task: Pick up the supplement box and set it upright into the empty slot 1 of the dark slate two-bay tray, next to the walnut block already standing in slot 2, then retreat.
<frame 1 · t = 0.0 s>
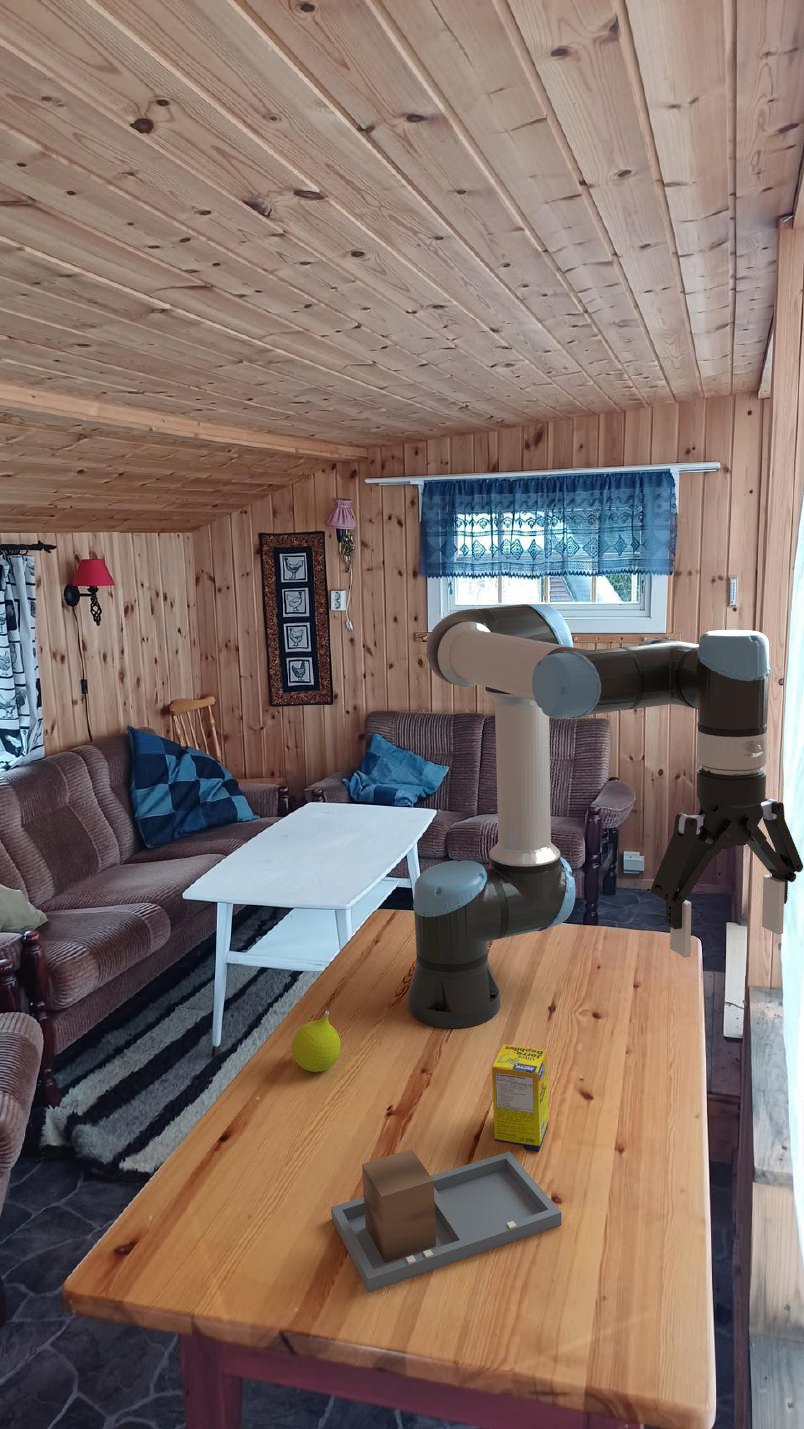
hand: (727, 941, 116), 28 cm above the table, fingers open, 13 cm apart
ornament: (317, 1069, 144), on the table
supplement box: (521, 1135, 127), on the table
slot tray: (445, 1225, 111), on the table
walnut block: (400, 1236, 109), point 1 cm above the table, touching slot tray
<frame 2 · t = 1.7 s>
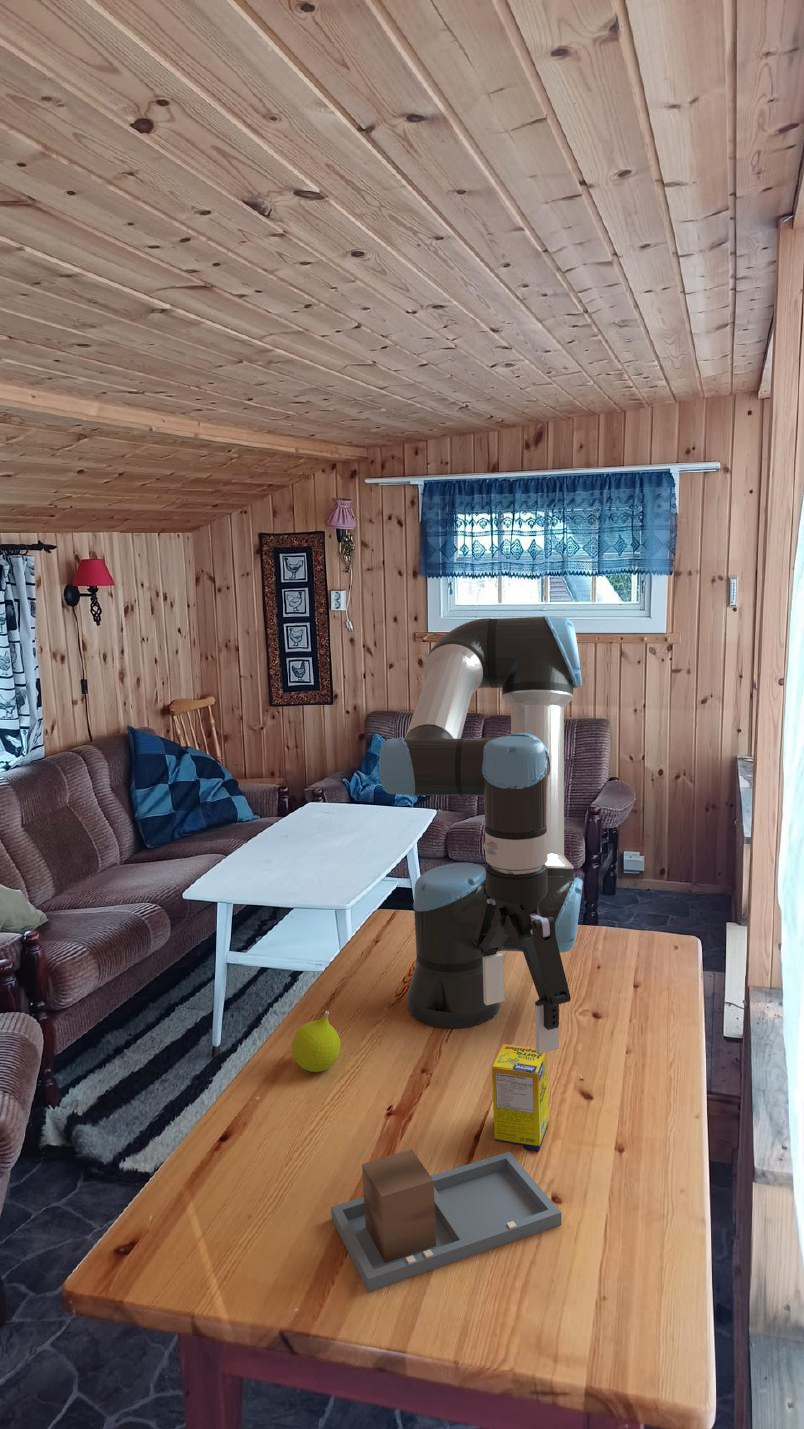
hand: (519, 1025, 123), 15 cm above the table, fingers open, 13 cm apart
nothing on the table moved.
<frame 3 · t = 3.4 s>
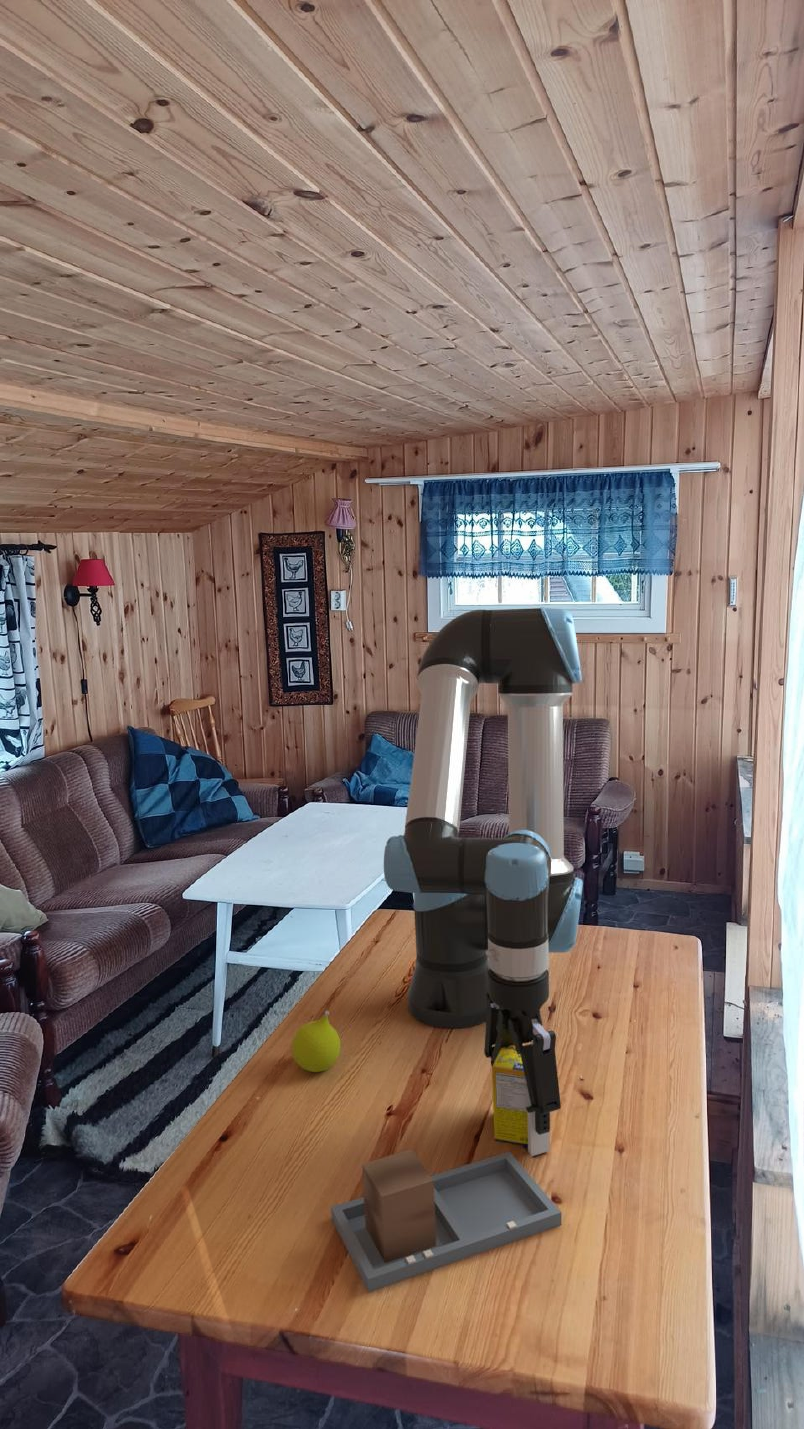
hand: (521, 1132, 127), 0 cm above the table, fingers closed on supplement box, 8 cm apart
supplement box: (521, 1135, 127), on the table, touching gripper
everything else where it was.
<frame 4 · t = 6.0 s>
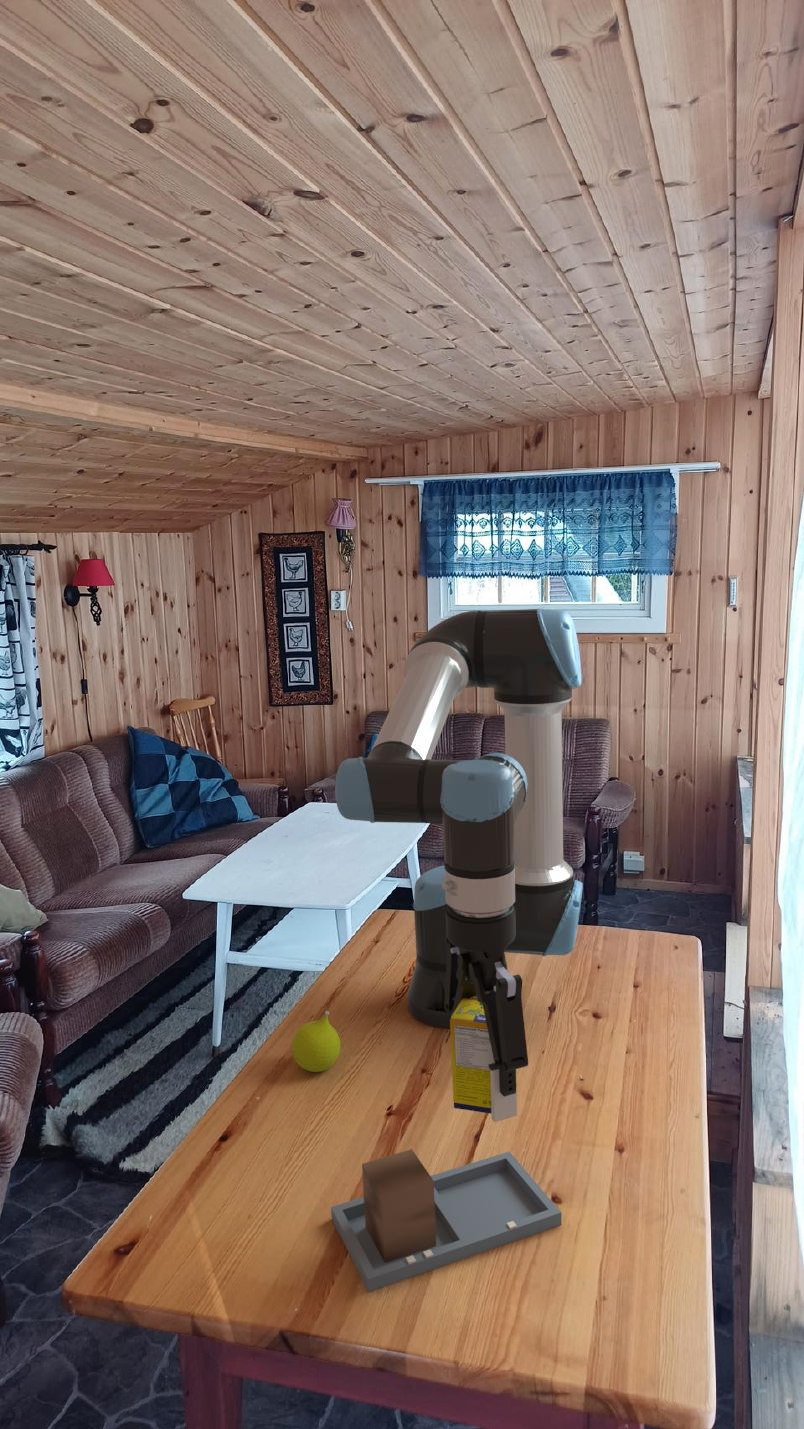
hand: (485, 1095, 110), 15 cm above the table, fingers closed on supplement box, 8 cm apart
supplement box: (485, 1099, 110), point 14 cm above the table, touching gripper
everything else where it was.
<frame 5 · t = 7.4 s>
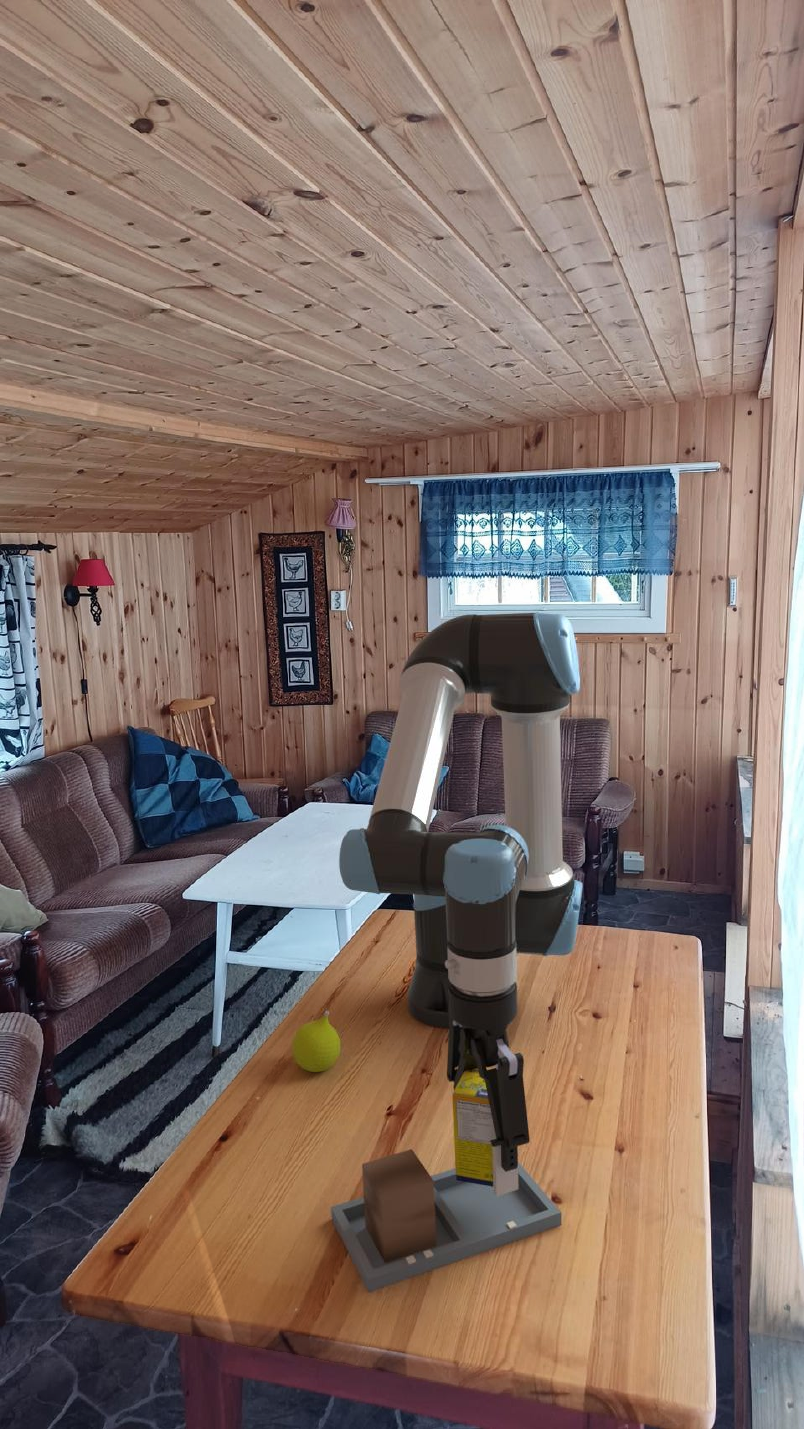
hand: (487, 1167, 112), 6 cm above the table, fingers closed on supplement box, 8 cm apart
supplement box: (487, 1171, 112), point 5 cm above the table, touching gripper
everything else where it was.
when the fingers open (3 cm above the table, at t = 8.4 s): supplement box drops 2 cm, resting on slot tray.
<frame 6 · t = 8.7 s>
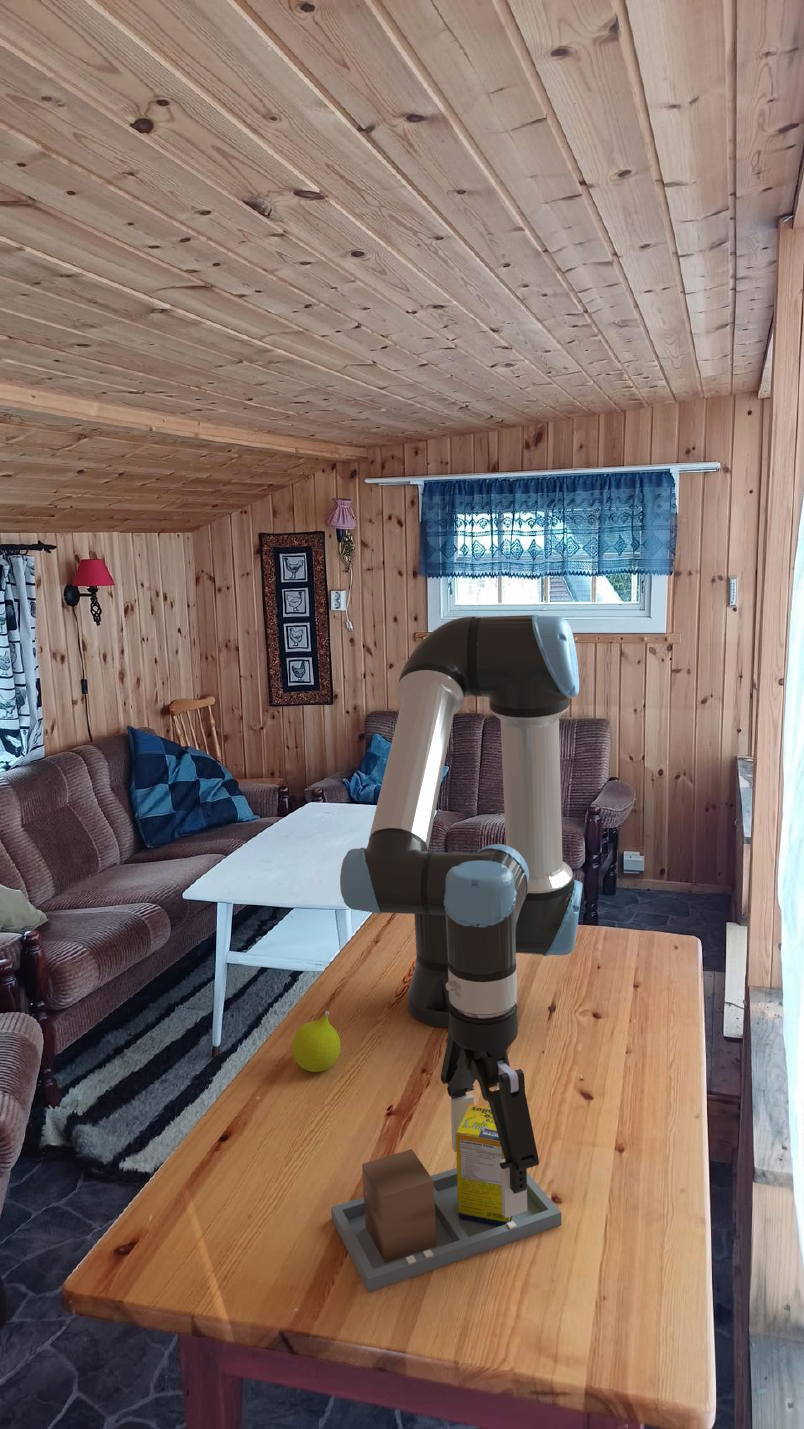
hand: (487, 1178, 112), 4 cm above the table, fingers open, 12 cm apart
supplement box: (489, 1208, 113), resting on slot tray
everything else where it was.
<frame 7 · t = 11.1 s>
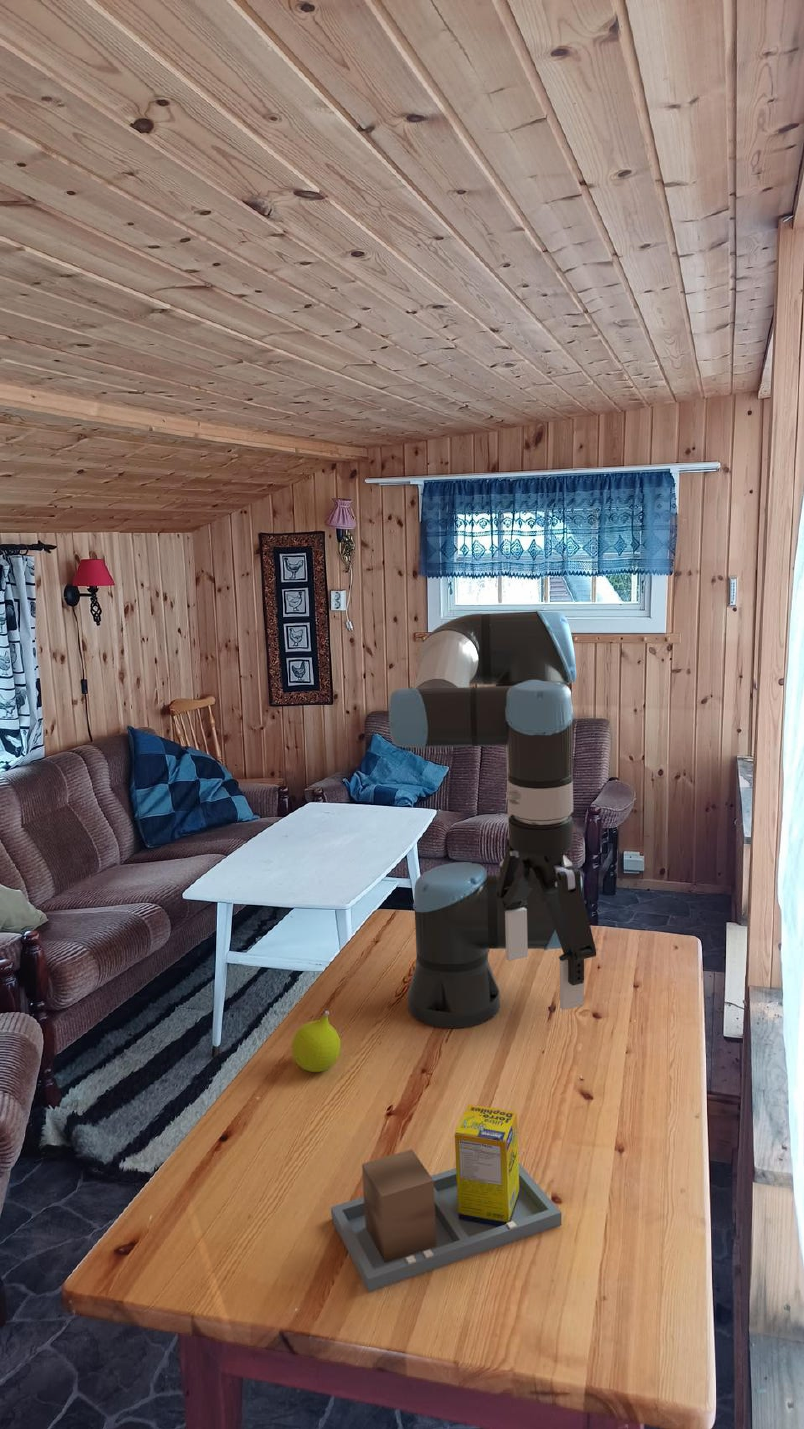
hand: (543, 980, 119), 23 cm above the table, fingers open, 13 cm apart
nothing on the table moved.
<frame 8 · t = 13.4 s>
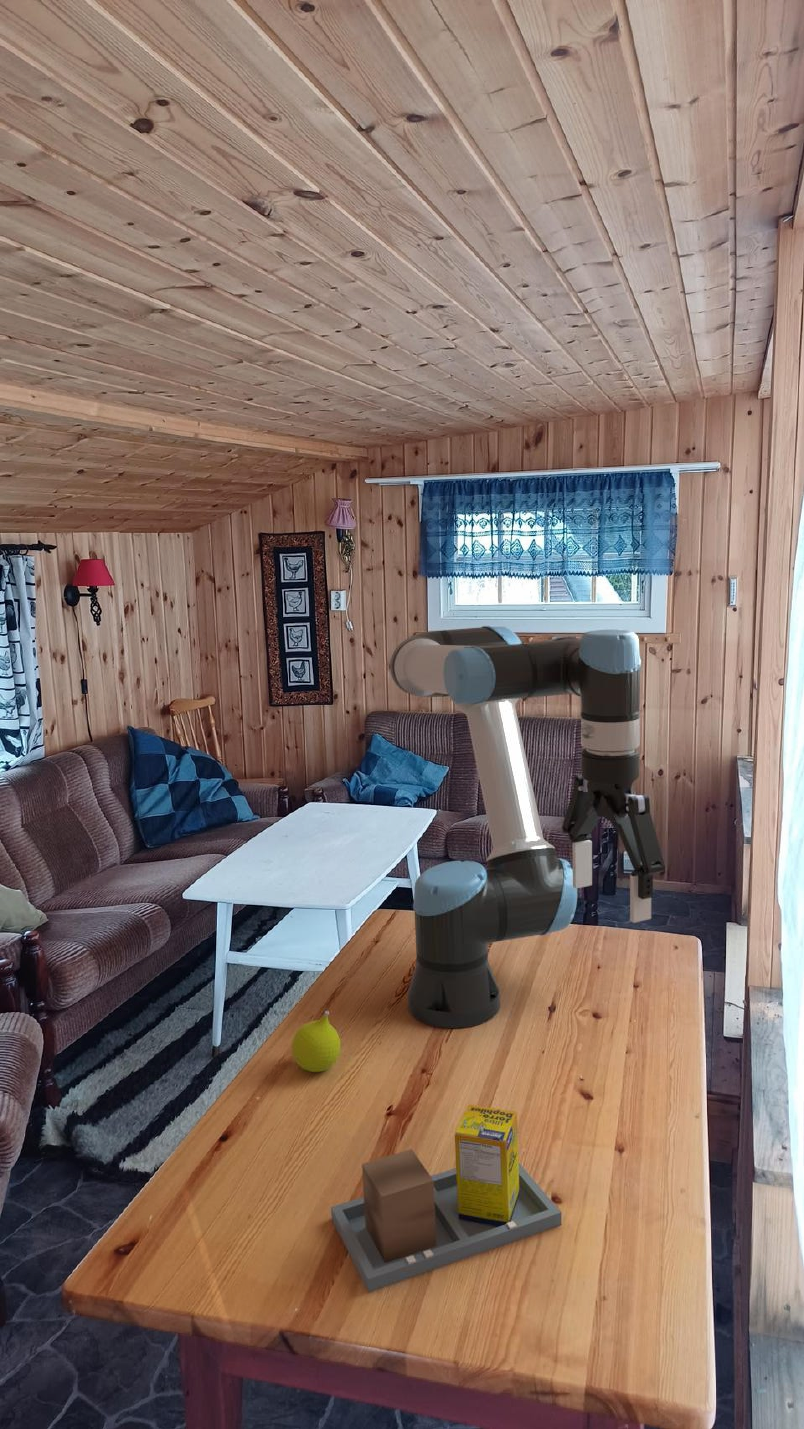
hand: (610, 902, 132), 27 cm above the table, fingers open, 13 cm apart
nothing on the table moved.
at the end: supplement box inside the target area (0.0 cm from its centre), resting on slot tray; supplement box tilted 0°; walnut block moved 0.0 cm from its start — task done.
